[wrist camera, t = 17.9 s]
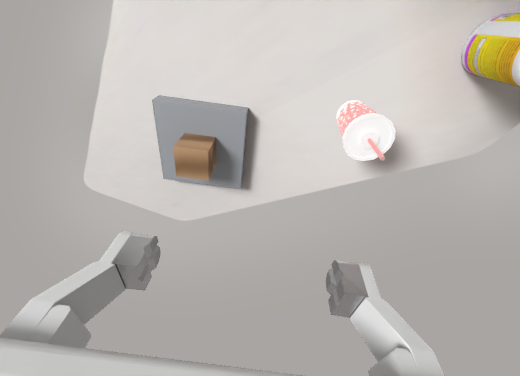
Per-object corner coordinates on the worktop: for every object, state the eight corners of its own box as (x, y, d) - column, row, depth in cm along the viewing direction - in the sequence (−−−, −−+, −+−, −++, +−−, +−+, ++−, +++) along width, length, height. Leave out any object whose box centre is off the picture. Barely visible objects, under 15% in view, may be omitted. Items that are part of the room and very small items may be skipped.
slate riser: (159, 95, 37) (152, 99, 35) (248, 107, 37) (246, 112, 35) (168, 171, 45) (163, 178, 43) (242, 181, 45) (240, 189, 43)
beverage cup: (368, 133, 38) (404, 182, 27) (329, 134, 39) (348, 182, 27) (376, 93, 35) (423, 130, 23) (333, 95, 35) (358, 132, 24)
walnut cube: (184, 132, 38) (173, 146, 34) (216, 137, 38) (208, 151, 34) (186, 160, 41) (176, 176, 37) (215, 164, 41) (208, 180, 37)
